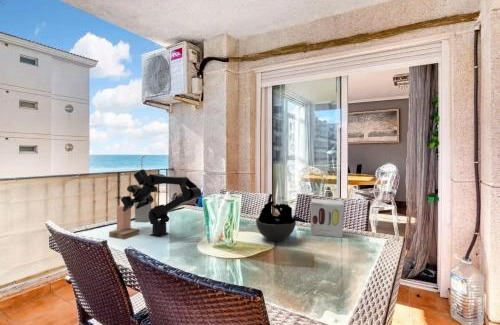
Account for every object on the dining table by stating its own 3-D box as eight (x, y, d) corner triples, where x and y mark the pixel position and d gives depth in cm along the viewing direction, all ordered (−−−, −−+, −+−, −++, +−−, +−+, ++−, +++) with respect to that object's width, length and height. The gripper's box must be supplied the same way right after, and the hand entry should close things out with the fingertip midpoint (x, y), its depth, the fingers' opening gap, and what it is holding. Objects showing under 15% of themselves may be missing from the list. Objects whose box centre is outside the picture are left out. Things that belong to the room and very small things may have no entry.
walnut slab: (139, 235, 148) (139, 229, 147) (123, 240, 138) (123, 234, 138) (124, 232, 151) (124, 227, 151) (109, 237, 142) (109, 231, 142)
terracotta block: (130, 228, 160) (130, 205, 159) (123, 230, 155) (123, 206, 155) (124, 227, 162) (124, 204, 161) (116, 229, 157) (117, 205, 157)
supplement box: (310, 235, 152) (310, 202, 152) (310, 229, 165) (311, 198, 165) (343, 237, 148) (344, 203, 148) (341, 231, 161) (342, 200, 161)
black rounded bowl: (294, 247, 130) (295, 207, 130) (252, 244, 134) (252, 205, 134) (296, 236, 150) (296, 201, 149) (259, 233, 154) (259, 199, 153)
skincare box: (151, 219, 180) (152, 195, 180) (146, 222, 173) (147, 196, 173) (139, 219, 181) (139, 194, 181) (133, 221, 174) (133, 196, 174)
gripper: (150, 179, 162) (135, 196, 167) (123, 181, 145) (108, 200, 150) (160, 193, 159) (145, 211, 164) (134, 197, 142) (118, 217, 147)
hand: (130, 209), depth 156 cm, fingers open, 9 cm apart
